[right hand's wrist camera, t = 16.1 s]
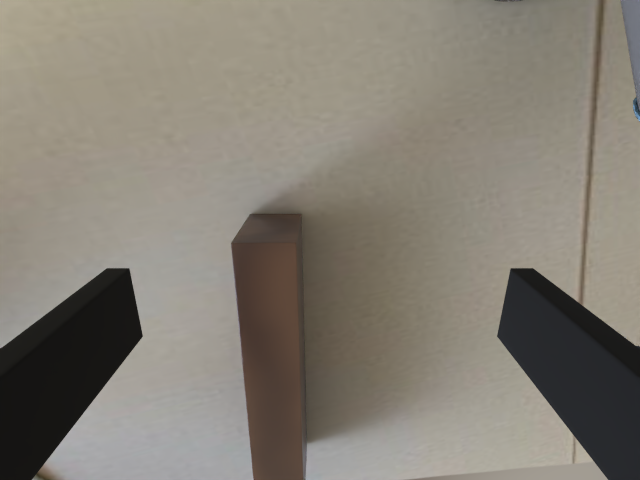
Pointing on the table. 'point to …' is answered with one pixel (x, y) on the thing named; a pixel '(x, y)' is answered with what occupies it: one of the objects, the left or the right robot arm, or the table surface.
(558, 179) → the table surface
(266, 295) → the beam
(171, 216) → the table surface
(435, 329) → the table surface
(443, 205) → the table surface
